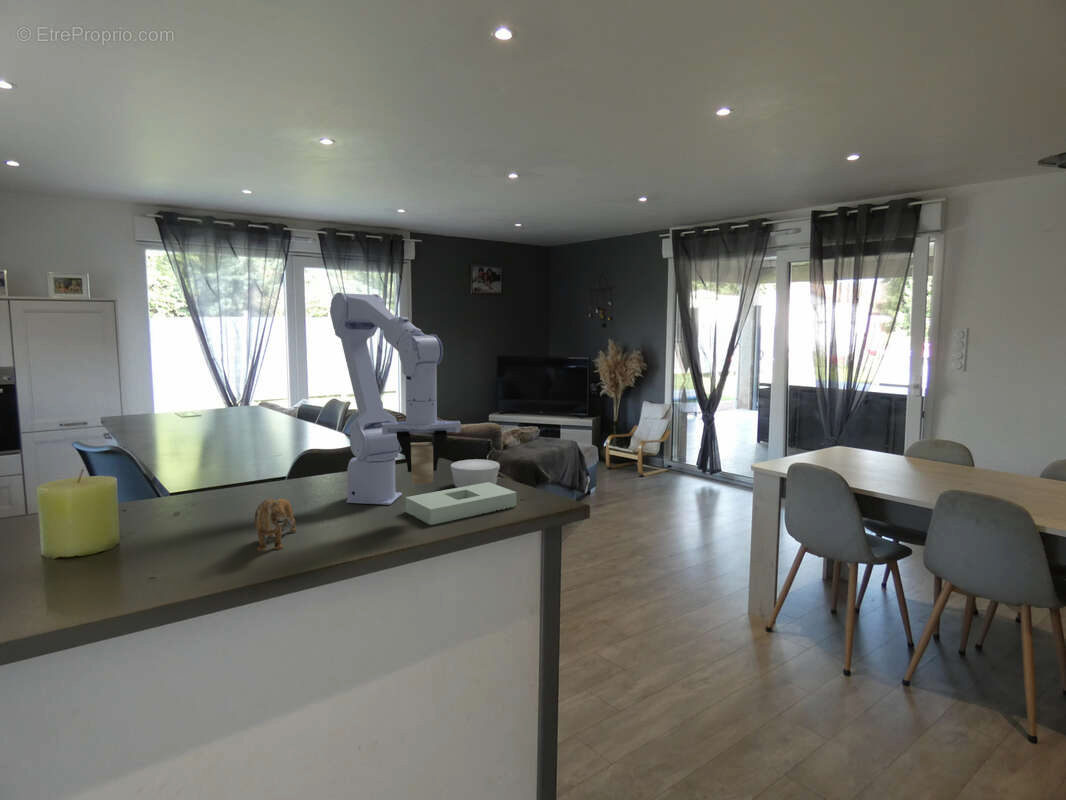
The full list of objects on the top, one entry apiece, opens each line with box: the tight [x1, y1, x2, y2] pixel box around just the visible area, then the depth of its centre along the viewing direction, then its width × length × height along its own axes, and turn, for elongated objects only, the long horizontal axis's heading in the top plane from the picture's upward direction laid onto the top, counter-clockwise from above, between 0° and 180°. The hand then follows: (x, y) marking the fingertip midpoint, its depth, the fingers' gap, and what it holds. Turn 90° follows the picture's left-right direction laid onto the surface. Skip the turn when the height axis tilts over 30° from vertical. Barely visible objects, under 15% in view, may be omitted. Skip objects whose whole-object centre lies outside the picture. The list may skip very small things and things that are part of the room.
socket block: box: [404, 482, 518, 526], centre depth 126 cm, size 20×10×3 cm, turn 129°
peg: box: [410, 441, 434, 485], centre depth 118 cm, size 4×4×7 cm
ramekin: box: [450, 458, 501, 488], centre depth 143 cm, size 11×11×5 cm
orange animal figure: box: [253, 498, 297, 552], centre depth 105 cm, size 15×5×9 cm, turn 14°
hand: (422, 470), depth 119 cm, fingers closed on peg, 4 cm apart
